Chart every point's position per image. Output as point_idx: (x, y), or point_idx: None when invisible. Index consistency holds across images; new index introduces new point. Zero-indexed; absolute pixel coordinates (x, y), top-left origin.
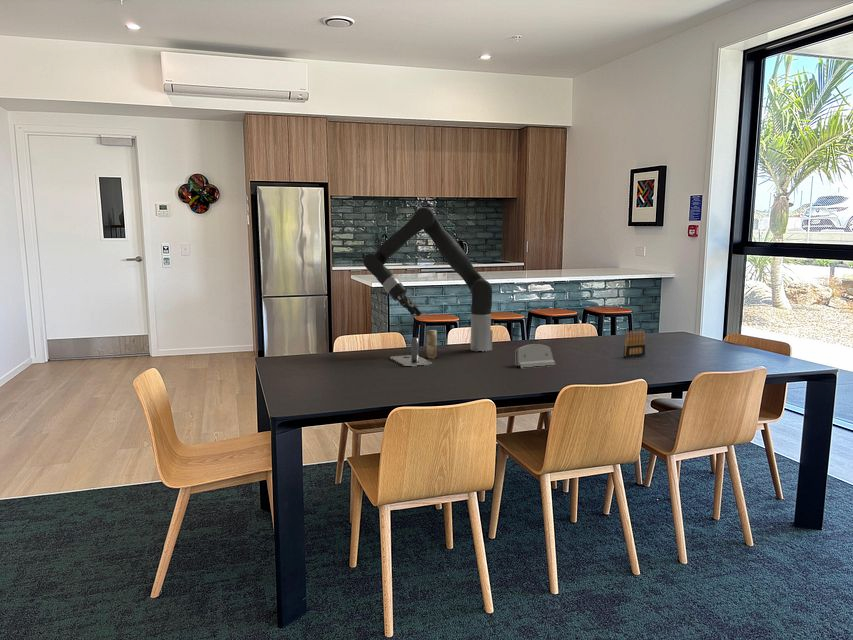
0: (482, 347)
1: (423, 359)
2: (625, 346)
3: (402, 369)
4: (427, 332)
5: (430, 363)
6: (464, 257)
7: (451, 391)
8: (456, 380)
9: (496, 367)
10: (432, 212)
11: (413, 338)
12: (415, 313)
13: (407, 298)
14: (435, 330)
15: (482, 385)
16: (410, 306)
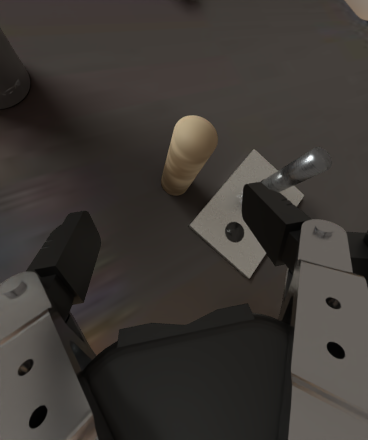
0: (18, 57)
1: (236, 179)
2: None
3: (317, 193)
4: (211, 153)
5: (255, 152)
6: None
7: None
8: (328, 78)
9: (206, 26)
10: None
11: (328, 161)
12: (94, 263)
13: (322, 391)
14: (183, 122)
15: (331, 38)
16: (300, 221)
